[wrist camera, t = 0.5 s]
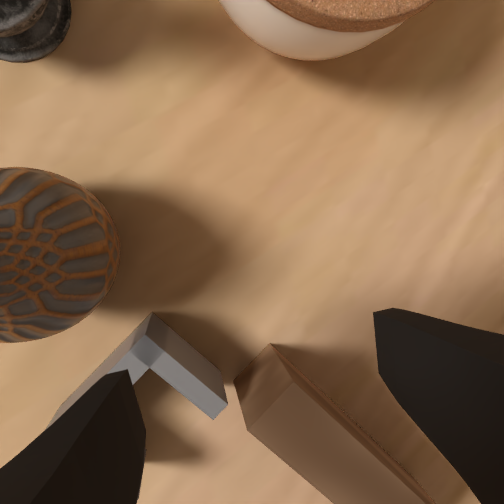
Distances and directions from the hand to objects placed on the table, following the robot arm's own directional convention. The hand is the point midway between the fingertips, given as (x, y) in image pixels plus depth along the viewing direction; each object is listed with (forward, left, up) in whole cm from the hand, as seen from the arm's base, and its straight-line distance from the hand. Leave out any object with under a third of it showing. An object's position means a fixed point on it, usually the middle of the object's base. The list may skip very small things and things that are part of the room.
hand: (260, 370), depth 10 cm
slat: (-2, -11, -10) cm, 15 cm away
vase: (-4, +8, -10) cm, 14 cm away
